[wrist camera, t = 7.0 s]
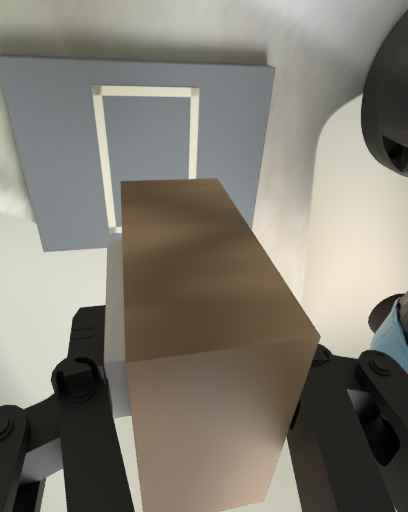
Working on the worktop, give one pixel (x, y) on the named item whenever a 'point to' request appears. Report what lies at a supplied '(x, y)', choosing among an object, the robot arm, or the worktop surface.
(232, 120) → the baseboard
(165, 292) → the tall cardboard box
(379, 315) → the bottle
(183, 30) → the worktop surface
